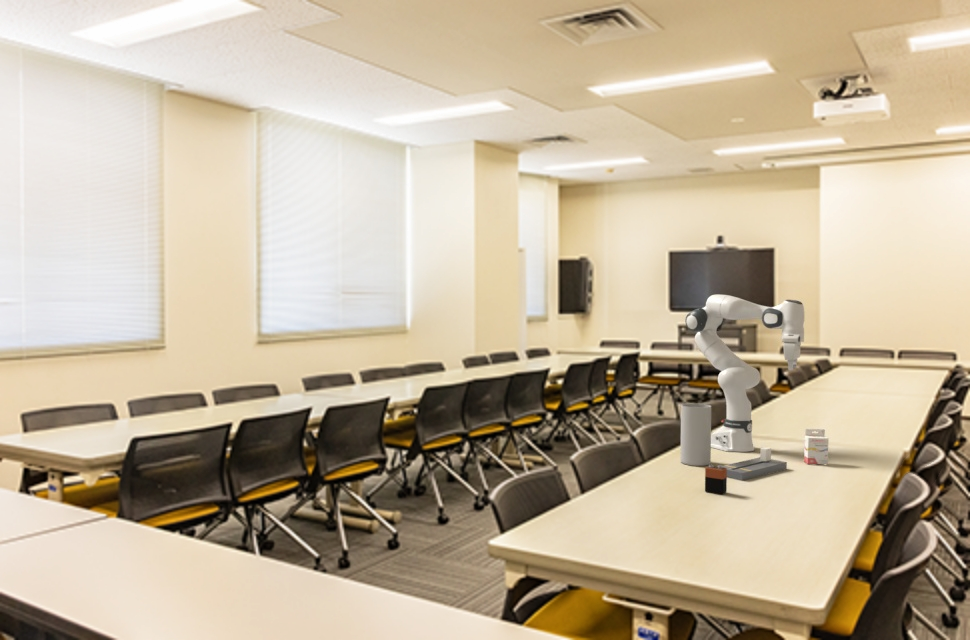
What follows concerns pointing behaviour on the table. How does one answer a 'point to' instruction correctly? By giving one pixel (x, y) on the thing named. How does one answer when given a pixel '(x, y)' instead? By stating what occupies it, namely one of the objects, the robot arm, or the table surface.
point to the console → (753, 468)
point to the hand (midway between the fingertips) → (792, 369)
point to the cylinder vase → (695, 434)
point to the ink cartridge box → (816, 447)
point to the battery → (715, 479)
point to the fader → (765, 454)
